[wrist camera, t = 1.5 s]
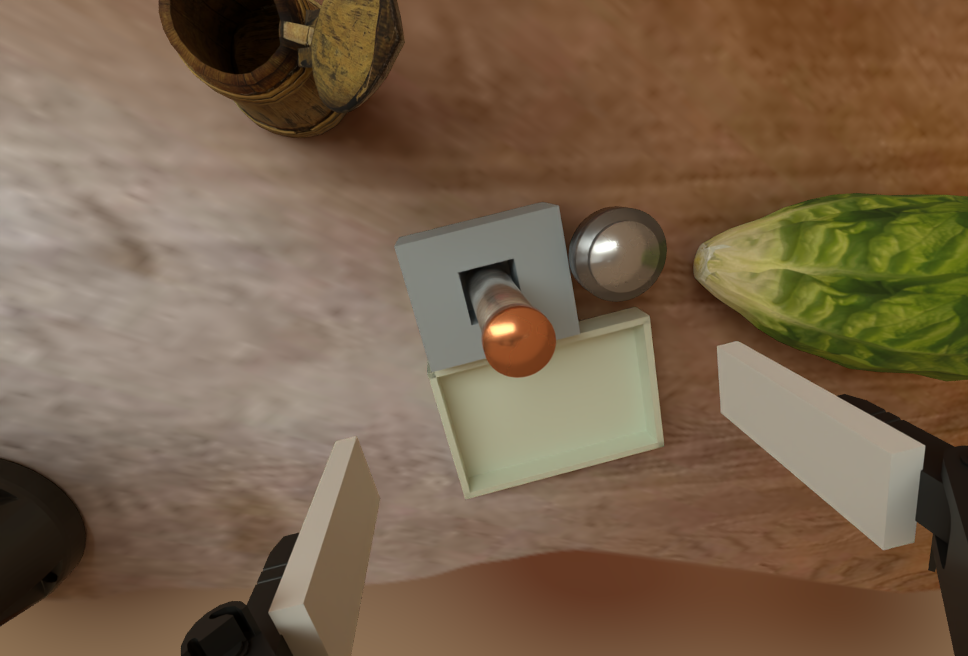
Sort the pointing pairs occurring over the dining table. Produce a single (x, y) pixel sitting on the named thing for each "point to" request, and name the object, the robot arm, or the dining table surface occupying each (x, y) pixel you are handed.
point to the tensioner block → (475, 243)
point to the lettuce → (853, 280)
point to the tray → (554, 407)
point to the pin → (509, 323)
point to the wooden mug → (288, 55)
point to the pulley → (617, 253)
